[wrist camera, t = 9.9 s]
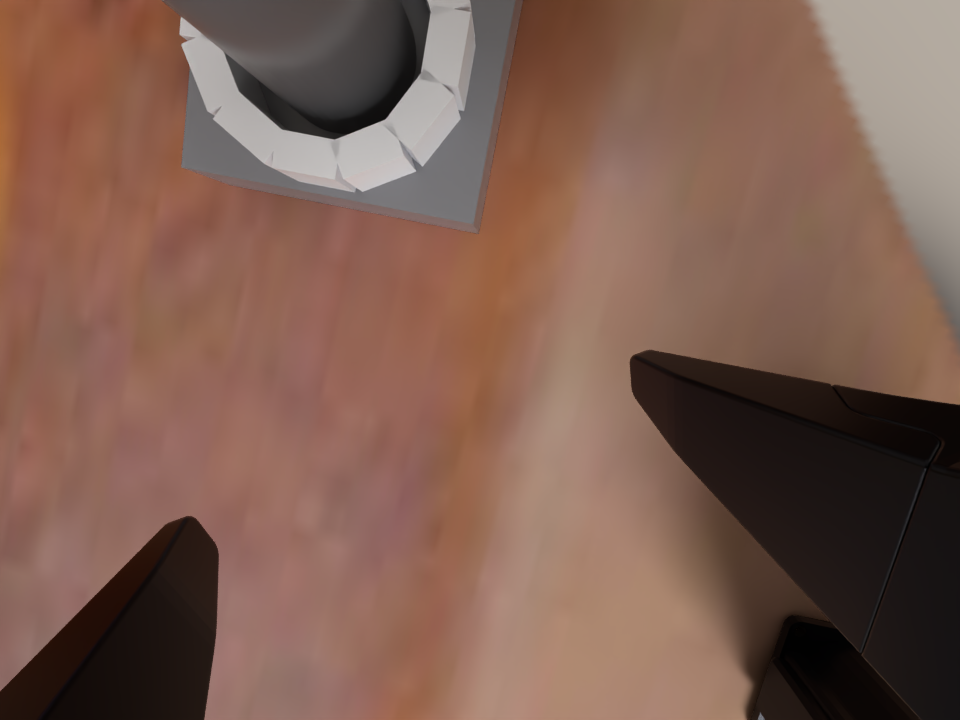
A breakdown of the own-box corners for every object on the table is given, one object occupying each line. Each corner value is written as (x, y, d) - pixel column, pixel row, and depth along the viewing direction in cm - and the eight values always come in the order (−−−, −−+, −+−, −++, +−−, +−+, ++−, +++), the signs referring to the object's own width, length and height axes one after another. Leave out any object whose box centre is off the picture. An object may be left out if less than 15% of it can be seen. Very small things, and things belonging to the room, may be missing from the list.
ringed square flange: (525, -11, 18) (531, -123, 13) (478, 233, 20) (468, 215, 15) (254, -61, 18) (162, -187, 14) (229, 184, 20) (138, 151, 15)
